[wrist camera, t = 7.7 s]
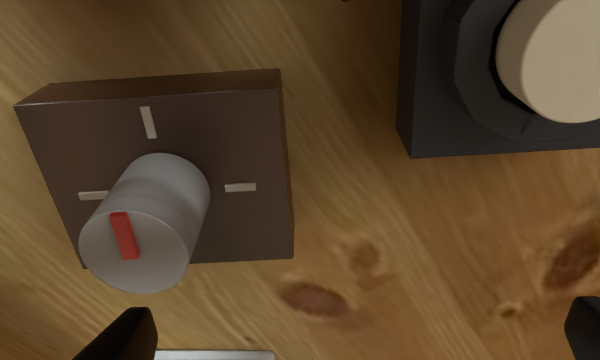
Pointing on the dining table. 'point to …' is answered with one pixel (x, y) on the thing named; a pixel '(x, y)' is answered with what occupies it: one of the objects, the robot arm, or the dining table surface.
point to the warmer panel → (172, 151)
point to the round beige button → (553, 58)
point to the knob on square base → (467, 87)
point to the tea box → (214, 355)
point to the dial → (147, 225)
